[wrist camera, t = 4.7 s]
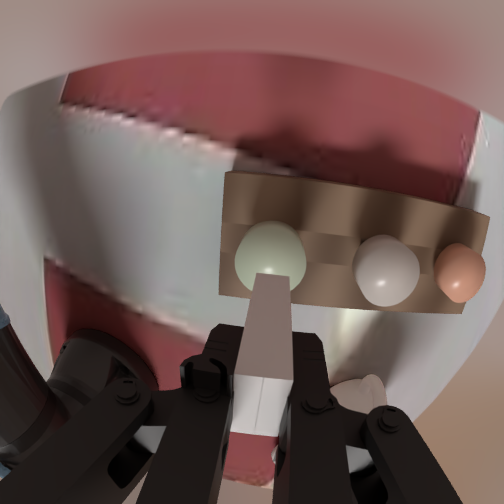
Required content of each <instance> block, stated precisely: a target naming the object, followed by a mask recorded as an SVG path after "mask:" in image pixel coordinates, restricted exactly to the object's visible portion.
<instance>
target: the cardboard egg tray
mask: <svg viewBox="0 0 504 504" xmlns="http://www.w3.org/2000/svg"><path fill="white" fill-rule="evenodd" d="M489 220H490V217H489V216H486V215H484V214H481V213H479V212H476V211H473V210H470V209H466V208H462V207H459V206H455V205H451V204H447V203H443V202H439V201H434V200H430V199H426V198H421V197H417V196H412V195H407V194H402V193H397V192H392V191H387V190H382V189H376V188H371V187H365V186H359V185H353V184H347V183H340V182H333V181H326V180H319V179H312V178H304V177H295V176H287V175H277V174H267V173H257V172H245V171H228V172H225V179H224V194H223V210H222V228H221V248H220V270H219V295H225V296H232V297H240V298H248V299H251V295H252V291H251V290H249V289H248V288H247V287H246V286H245V285H244V284H243V283H242V282H241V281H240V279H239V277H238V275H237V273H236V269H235V255H236V252H237V250H238V247H239V245H240V243H241V241H242V239H243V237H244V235H245V234H246V232H247V231H248V230H249V229H250V228H251V227H253V226H254V225H256V224H258V223H260V222H264V221H280V222H283V223H285V224H287V225H289V226H291V227H292V228H293V229H294V230H295V231H296V232H297V233H298V235H299V236H300V238H301V240H302V243H303V247H304V251H305V256H306V270H305V274H304V276H303V278H302V280H301V282H300V283H299V284H298V285H297V286H296V287H295V288H294V289H293V290H291V291H290V298H291V303H293V304H303V305H314V306H325V307H337V308H349V309H363V310H378V311H395V312H416V313H444V314H462V311H463V309H464V306H465V304H466V302H462V303H456V302H454V301H452V300H451V299H450V298H449V297H448V296H447V295H446V294H445V293H444V292H443V291H442V290H441V289H440V288H439V287H438V286H437V285H436V283H435V280H434V266H435V263H436V260H437V258H438V256H439V255H440V253H441V252H442V251H443V250H444V249H445V248H446V247H447V246H449V245H451V244H454V243H461V244H463V245H465V246H467V247H468V248H470V249H472V250H473V251H475V252H476V253H478V254H479V255H481V254H482V250H483V246H484V242H485V238H486V234H487V230H488V225H489ZM376 235H390V236H392V237H394V238H396V239H398V240H399V241H400V242H401V243H403V244H404V245H405V246H406V247H407V248H409V249H410V250H411V251H412V252H413V253H414V254H415V255H416V257H417V259H418V262H419V267H420V274H419V279H418V282H417V285H416V287H415V288H414V290H413V291H412V293H411V294H410V295H409V296H408V297H407V298H406V299H405V300H403V301H402V302H400V303H398V304H395V305H392V306H387V307H383V306H377V305H374V304H372V303H371V302H369V301H368V300H367V299H366V298H365V296H364V295H363V293H362V291H361V289H360V287H359V285H358V284H357V282H356V280H355V278H354V276H353V272H352V262H353V258H354V255H355V253H356V251H357V249H358V248H359V246H360V245H361V244H362V243H363V242H365V241H366V240H367V239H369V238H371V237H373V236H376Z"/></svg>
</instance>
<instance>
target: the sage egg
mask: <svg viewBox="0 0 504 504" xmlns="http://www.w3.org/2000/svg"><path fill="white" fill-rule="evenodd" d="M235 269H236V273H237V275H238V277H239V279H240V281H241V282H242V283H243V284H244V285H245V286H246V287H247V288H248V289H249V290H251V291H252V290H253V286H254V281H255V276H256V273H264V274H273V275H282V276H289V279H290V291H291V290H293V289H294V288H295V287H296V286H297V285H298V284H299V283H300V282H301V280H302V278H303V276H304V274H305V270H306V256H305V251H304V247H303V243H302V240H301V238H300V236H299V235H298V233H297V232H296V231H295V230H294V229H293V228H292V227H291V226H289V225H287V224H285V223H283V222H280V221H264V222H260V223H258V224H256V225H254V226H253V227H251V228H250V229H249V230H248V231H247V232H246V234H245V235H244V237H243V239H242V241H241V243H240V245H239V247H238V250H237V252H236V255H235Z"/></svg>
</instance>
